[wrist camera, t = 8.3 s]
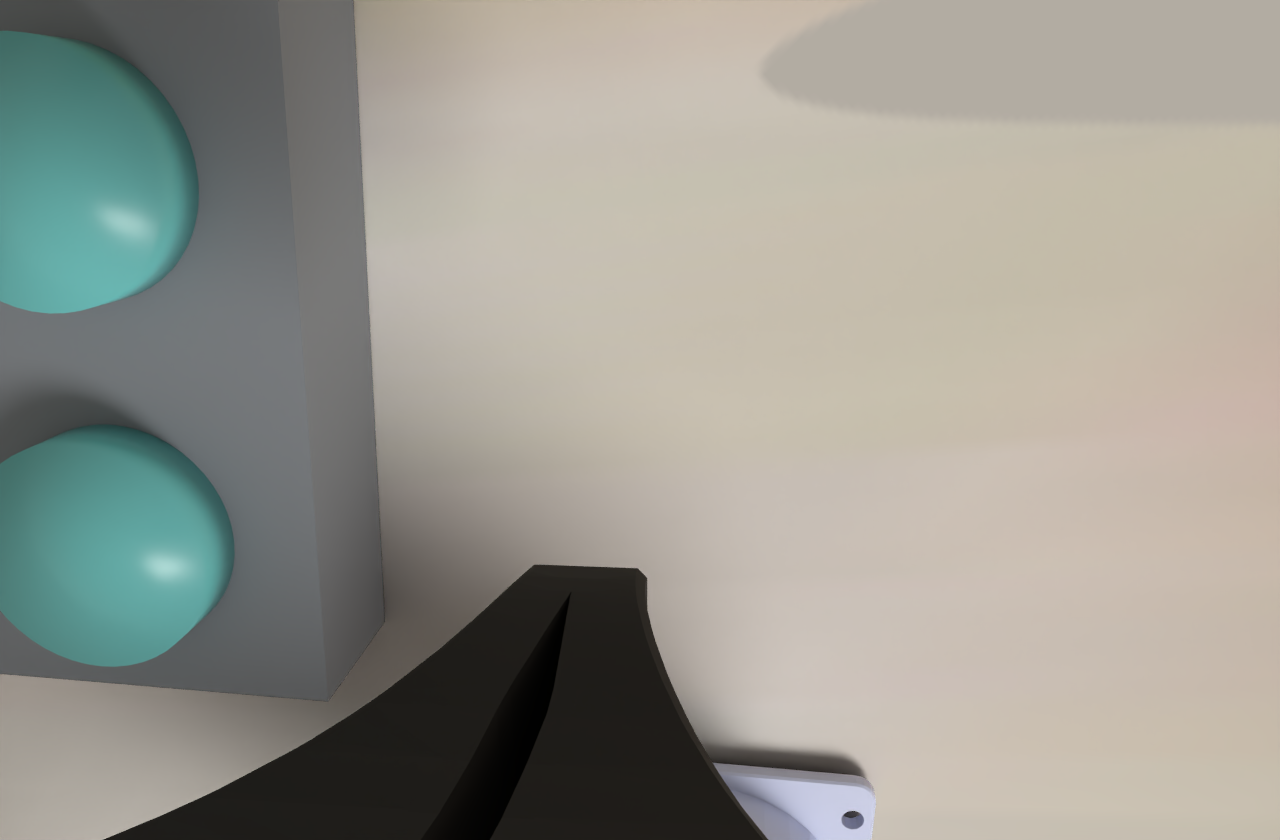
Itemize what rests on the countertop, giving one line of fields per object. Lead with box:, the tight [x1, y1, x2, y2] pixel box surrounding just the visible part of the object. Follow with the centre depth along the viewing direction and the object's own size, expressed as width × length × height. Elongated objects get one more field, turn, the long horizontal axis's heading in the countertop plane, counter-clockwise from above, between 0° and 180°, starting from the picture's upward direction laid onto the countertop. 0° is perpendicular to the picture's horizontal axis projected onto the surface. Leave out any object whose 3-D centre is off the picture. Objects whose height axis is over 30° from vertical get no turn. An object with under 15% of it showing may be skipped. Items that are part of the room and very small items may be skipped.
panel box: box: [0, 0, 385, 701], centre depth 20 cm, size 14×8×3 cm, turn 178°
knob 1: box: [0, 31, 199, 314], centre depth 18 cm, size 5×5×4 cm
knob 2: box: [0, 425, 235, 667], centre depth 20 cm, size 5×5×4 cm
